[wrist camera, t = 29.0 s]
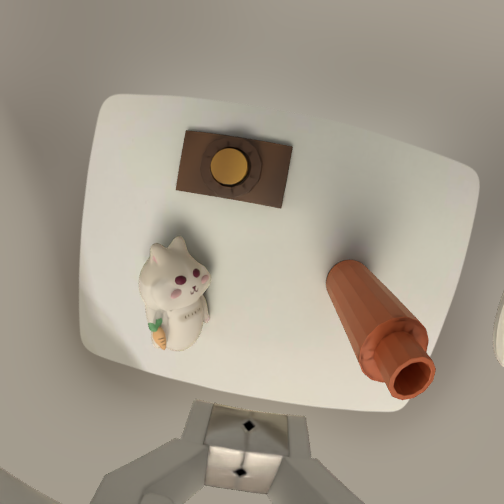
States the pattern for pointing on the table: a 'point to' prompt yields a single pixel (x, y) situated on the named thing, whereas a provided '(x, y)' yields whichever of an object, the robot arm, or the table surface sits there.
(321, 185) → the table surface
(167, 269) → the cat figurine
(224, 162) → the button
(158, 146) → the table surface
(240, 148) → the brown button base
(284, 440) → the robot arm
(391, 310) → the orange bottle
